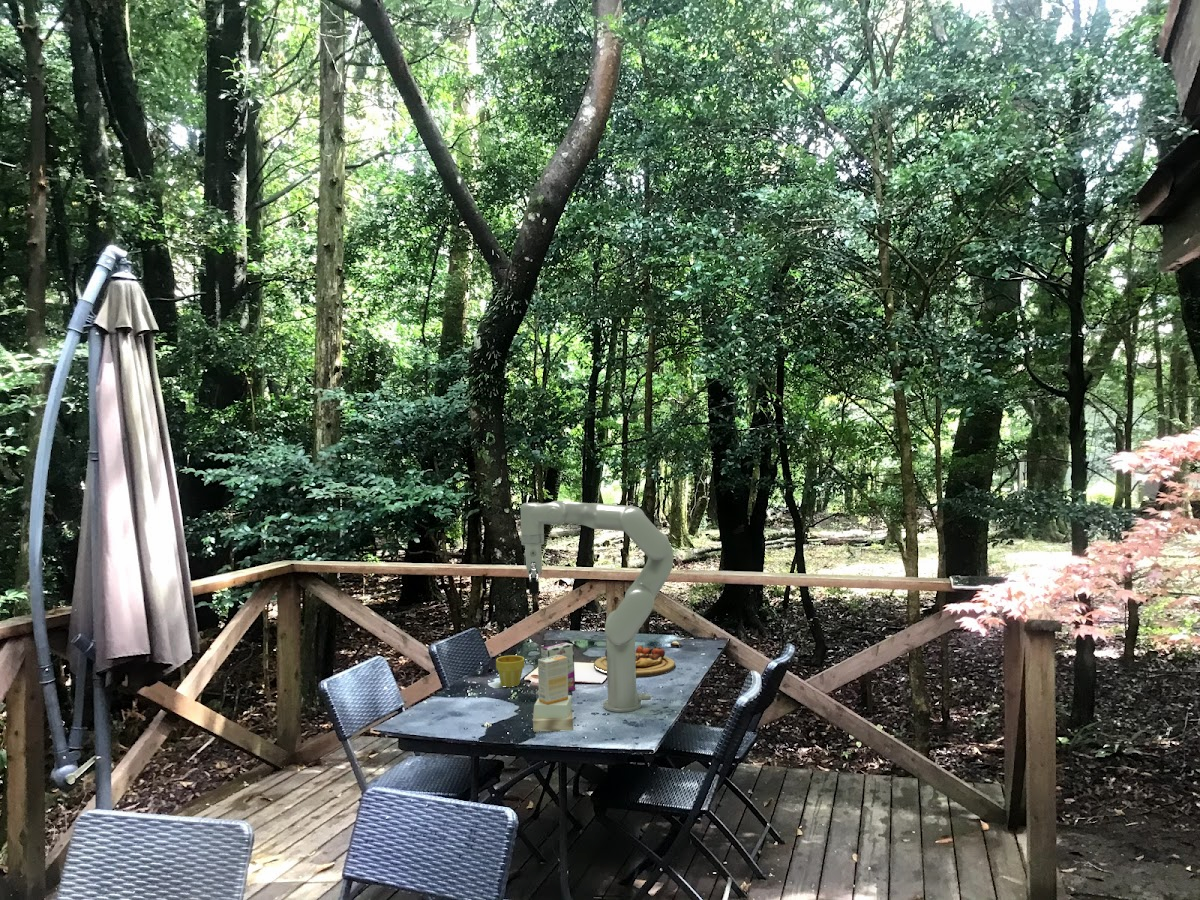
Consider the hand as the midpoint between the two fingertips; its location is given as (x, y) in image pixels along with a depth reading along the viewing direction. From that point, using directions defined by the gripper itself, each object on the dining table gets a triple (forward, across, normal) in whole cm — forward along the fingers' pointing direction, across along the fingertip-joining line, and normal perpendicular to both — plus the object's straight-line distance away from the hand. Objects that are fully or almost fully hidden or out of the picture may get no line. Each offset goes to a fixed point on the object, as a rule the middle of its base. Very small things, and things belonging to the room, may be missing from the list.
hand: (533, 591), depth 257 cm
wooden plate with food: (+39, +45, -39) cm, 71 cm away
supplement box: (+31, -18, -5) cm, 36 cm away
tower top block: (+35, -18, -5) cm, 39 cm away
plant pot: (+38, +28, +9) cm, 48 cm away
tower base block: (+39, -18, -5) cm, 43 cm away
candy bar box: (+38, +16, -8) cm, 42 cm away
